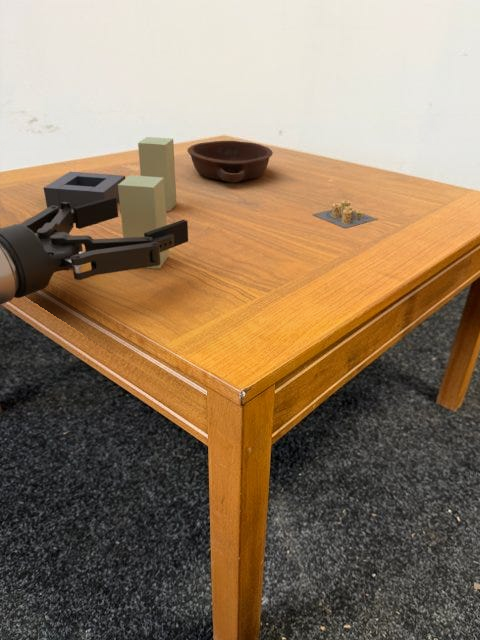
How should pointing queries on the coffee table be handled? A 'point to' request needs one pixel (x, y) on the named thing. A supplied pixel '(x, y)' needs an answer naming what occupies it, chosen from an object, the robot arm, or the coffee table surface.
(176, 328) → the coffee table surface
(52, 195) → the socket block
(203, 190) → the coffee table surface
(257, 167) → the dish
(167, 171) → the standing block
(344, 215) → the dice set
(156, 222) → the tall olive green block
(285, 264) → the coffee table surface
